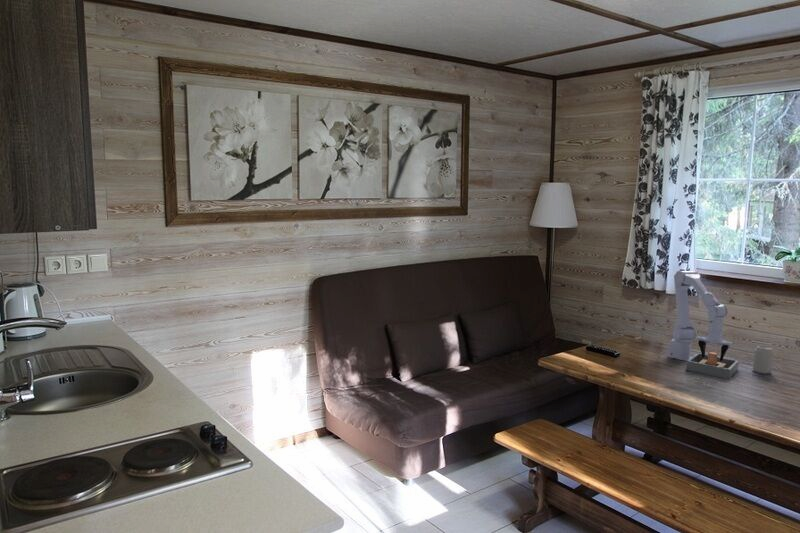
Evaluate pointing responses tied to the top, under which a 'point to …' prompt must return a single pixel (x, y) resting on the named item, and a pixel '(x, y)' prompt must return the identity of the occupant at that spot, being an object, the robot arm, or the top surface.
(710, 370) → the box
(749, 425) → the top surface
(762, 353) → the can
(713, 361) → the peg
